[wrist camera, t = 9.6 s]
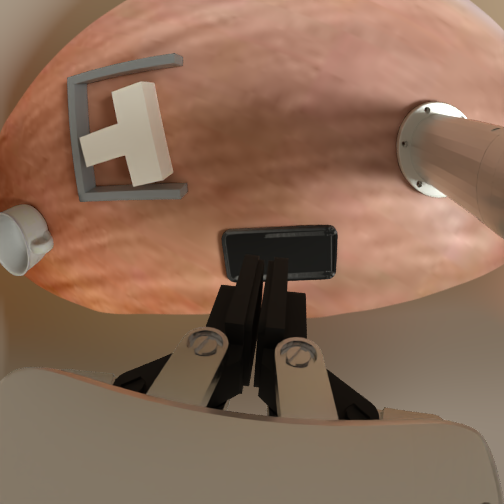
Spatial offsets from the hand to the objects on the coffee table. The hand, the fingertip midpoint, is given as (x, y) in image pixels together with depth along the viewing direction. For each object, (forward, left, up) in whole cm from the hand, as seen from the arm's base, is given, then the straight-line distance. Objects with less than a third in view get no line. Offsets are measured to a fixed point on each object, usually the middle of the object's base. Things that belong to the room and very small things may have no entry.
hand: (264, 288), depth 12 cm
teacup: (+39, +9, -26) cm, 48 cm away
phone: (-1, +12, -27) cm, 29 cm away
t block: (+19, -4, -26) cm, 32 cm away
